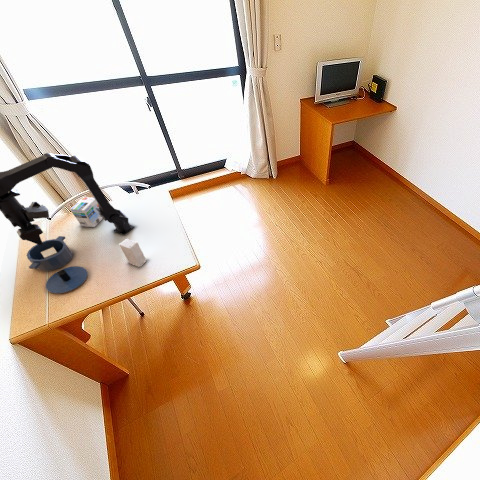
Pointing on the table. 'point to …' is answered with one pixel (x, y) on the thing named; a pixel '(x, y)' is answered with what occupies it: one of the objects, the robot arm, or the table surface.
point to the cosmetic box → (132, 252)
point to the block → (49, 253)
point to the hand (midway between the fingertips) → (37, 238)
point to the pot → (51, 262)
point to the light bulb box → (87, 212)
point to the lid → (66, 279)
